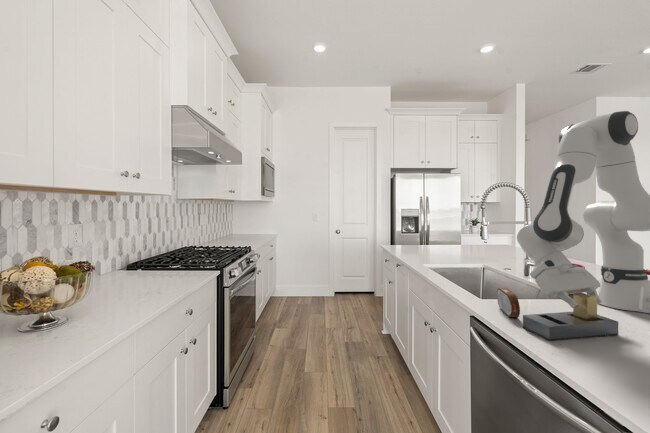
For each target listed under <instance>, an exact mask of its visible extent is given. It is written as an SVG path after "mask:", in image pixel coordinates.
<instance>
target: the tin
mask: <svg viewBox="0 0 650 433" xmlns="http://www.w3.org/2000/svg"><path fill="white" fill-rule="evenodd" d="M496 296H497V297H496V298H497V304H498V307H499V309H500V311H502V312H503V313H504V314H505V315H506V316H507V317H508V318H519V317H520V314H521V307H520V306H521V305H520V302H519V299H518V296H517V295H516V293H515V292H514V291H512V290H511V289H509V288H508V287H507V286H505V287H499V288H497V290H496Z"/></svg>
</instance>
